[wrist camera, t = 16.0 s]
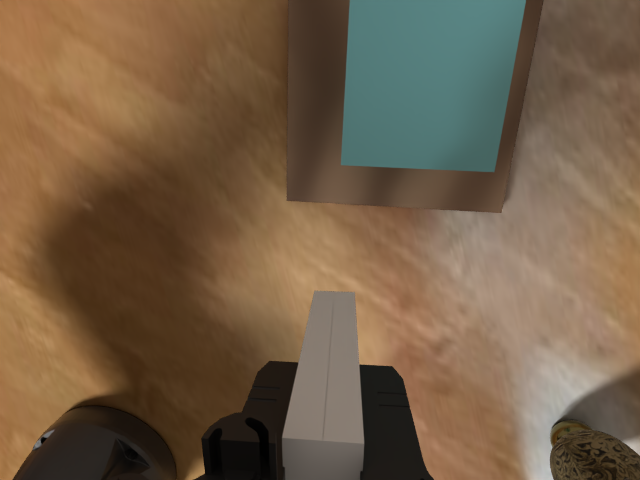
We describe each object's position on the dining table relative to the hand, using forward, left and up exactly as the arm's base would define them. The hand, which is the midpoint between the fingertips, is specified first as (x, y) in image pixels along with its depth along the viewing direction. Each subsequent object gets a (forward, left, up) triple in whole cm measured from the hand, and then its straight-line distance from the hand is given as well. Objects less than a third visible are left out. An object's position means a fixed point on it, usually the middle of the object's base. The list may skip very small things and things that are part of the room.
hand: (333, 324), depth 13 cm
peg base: (+3, +9, -15) cm, 18 cm away
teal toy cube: (+3, +9, -14) cm, 17 cm away
